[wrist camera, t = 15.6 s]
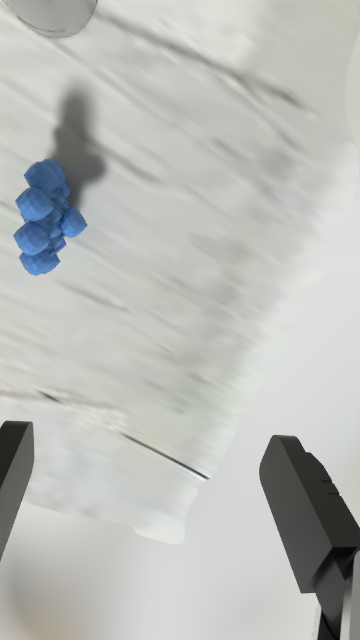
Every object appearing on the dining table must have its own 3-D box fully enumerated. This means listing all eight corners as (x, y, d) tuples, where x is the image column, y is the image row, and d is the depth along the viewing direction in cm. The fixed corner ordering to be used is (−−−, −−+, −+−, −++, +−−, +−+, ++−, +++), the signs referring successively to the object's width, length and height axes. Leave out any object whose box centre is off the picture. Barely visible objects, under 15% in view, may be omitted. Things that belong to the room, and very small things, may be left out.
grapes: (91, 261, 42) (74, 297, 31) (37, 253, 40) (0, 287, 30) (98, 166, 37) (80, 169, 26) (37, 153, 35) (-8, 151, 25)
